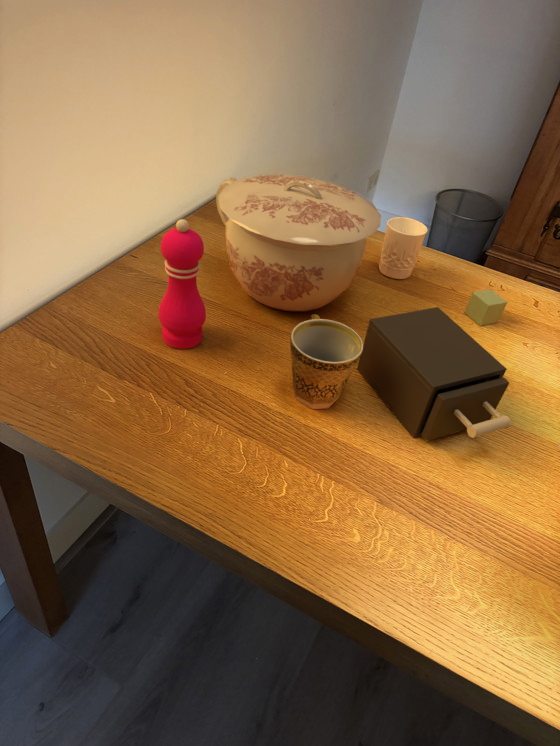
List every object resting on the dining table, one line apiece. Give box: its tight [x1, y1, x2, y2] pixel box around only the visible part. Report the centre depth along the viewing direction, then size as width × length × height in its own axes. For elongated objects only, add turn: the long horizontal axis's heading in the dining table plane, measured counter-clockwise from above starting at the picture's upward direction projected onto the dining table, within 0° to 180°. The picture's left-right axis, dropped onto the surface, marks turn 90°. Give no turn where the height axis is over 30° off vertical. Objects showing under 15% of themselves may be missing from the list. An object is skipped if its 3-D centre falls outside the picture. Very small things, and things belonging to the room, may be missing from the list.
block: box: [464, 288, 508, 327], centre depth 101 cm, size 4×4×4 cm
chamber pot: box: [215, 172, 382, 312], centre depth 95 cm, size 28×28×21 cm
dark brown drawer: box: [420, 376, 512, 442], centre depth 77 cm, size 19×11×8 cm, turn 25°
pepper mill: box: [158, 218, 207, 350], centre depth 80 cm, size 7×7×20 cm
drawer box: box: [356, 306, 508, 439], centre depth 80 cm, size 16×13×10 cm
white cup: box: [378, 216, 428, 280], centre depth 109 cm, size 8×8×10 cm
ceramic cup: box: [289, 313, 364, 410], centre depth 78 cm, size 13×10×10 cm
